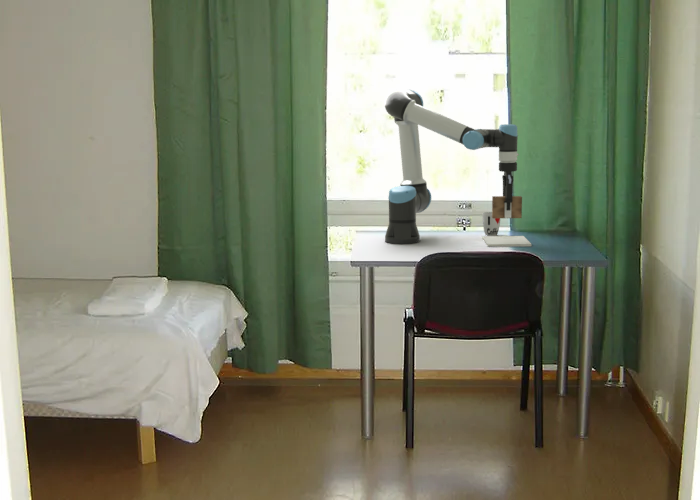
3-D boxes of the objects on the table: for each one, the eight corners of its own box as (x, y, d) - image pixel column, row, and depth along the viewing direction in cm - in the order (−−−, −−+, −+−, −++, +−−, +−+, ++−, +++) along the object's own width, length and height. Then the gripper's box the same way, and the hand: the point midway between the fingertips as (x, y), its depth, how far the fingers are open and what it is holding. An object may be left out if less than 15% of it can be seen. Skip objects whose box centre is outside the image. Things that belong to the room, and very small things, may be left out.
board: (492, 218, 360) (493, 197, 359) (492, 217, 363) (492, 196, 362) (521, 218, 360) (522, 196, 358) (520, 217, 363) (520, 196, 361)
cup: (484, 237, 378) (485, 214, 376) (479, 234, 386) (480, 212, 384) (502, 236, 379) (503, 214, 377) (497, 233, 387) (497, 211, 385)
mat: (487, 246, 355) (487, 244, 355) (482, 238, 375) (482, 236, 375) (531, 246, 355) (531, 243, 354) (523, 238, 374) (523, 235, 374)
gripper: (520, 163, 349) (519, 219, 354) (514, 160, 365) (513, 214, 369) (501, 163, 350) (501, 220, 354) (496, 160, 365) (495, 214, 370)
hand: (507, 217), depth 362 cm, fingers closed on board, 3 cm apart
